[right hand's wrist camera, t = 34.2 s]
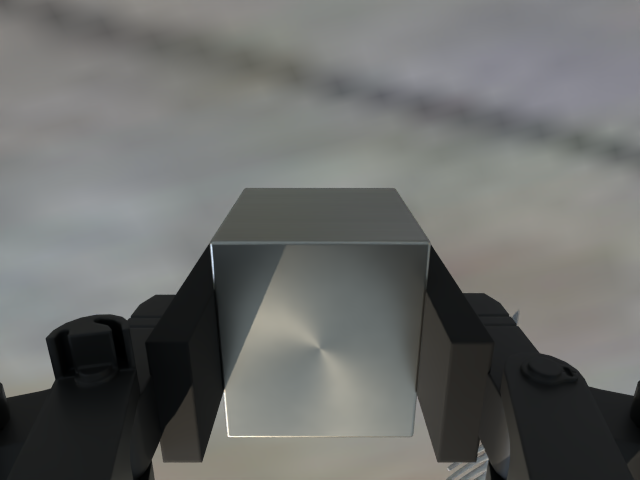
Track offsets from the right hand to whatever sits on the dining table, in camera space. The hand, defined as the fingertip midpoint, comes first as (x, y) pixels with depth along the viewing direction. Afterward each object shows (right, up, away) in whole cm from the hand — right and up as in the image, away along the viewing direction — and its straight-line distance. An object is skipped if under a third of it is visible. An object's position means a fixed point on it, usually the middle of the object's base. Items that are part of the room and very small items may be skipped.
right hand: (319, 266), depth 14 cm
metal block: (0, 0, 0) cm, 0 cm away
